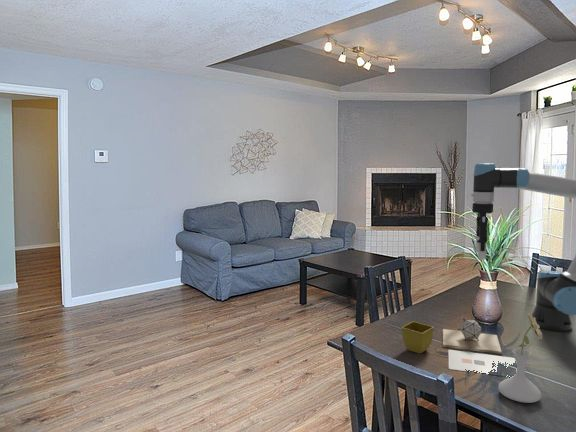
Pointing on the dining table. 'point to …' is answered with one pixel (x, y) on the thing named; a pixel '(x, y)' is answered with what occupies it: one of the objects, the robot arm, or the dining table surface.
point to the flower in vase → (522, 372)
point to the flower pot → (417, 336)
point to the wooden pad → (471, 342)
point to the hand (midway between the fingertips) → (480, 255)
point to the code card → (476, 361)
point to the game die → (471, 329)
